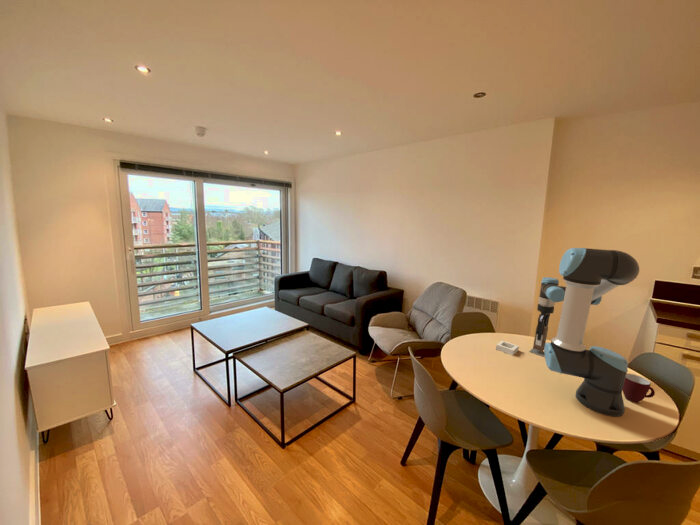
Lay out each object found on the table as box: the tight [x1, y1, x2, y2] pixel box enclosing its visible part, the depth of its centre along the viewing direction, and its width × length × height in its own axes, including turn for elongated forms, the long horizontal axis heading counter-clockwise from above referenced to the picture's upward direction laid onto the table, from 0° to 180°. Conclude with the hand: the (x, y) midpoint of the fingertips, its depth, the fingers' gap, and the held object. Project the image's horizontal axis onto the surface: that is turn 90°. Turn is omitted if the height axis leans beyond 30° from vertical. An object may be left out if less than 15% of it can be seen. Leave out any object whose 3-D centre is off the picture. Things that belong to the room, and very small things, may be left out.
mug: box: [622, 373, 656, 404], centre depth 116 cm, size 11×8×10 cm
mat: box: [528, 348, 545, 358], centre depth 157 cm, size 7×7×1 cm
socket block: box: [495, 340, 520, 357], centre depth 158 cm, size 9×9×3 cm
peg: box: [532, 326, 549, 351], centre depth 156 cm, size 4×4×14 cm
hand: (539, 343), depth 156 cm, fingers closed on peg, 4 cm apart
